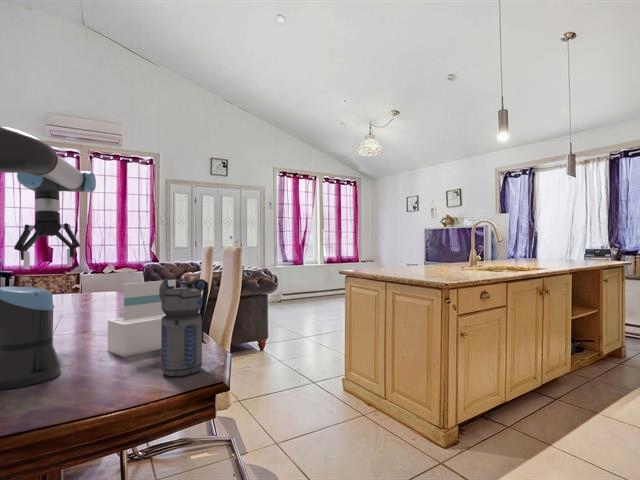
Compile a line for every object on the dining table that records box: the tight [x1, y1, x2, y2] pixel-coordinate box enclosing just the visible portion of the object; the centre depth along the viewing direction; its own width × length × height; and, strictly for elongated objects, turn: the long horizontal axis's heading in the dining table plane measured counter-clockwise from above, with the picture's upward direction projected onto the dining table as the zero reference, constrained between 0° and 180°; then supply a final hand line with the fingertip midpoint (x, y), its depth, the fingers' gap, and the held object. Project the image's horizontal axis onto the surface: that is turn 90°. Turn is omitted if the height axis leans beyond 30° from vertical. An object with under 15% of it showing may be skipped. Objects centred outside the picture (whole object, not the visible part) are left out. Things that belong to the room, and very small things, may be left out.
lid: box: [122, 279, 177, 321], centre depth 116 cm, size 11×17×1 cm
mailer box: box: [107, 315, 165, 358], centre depth 120 cm, size 12×16×10 cm
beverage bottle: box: [159, 278, 209, 377], centre depth 97 cm, size 10×13×25 cm
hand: (48, 267), depth 134 cm, fingers open, 13 cm apart
